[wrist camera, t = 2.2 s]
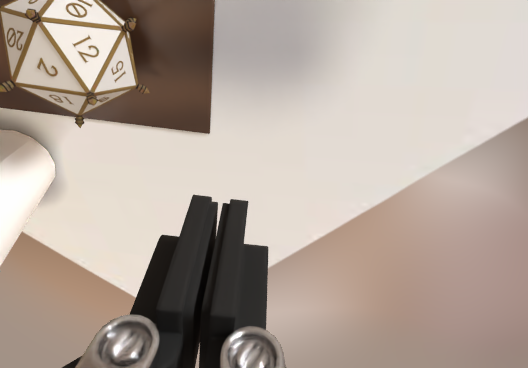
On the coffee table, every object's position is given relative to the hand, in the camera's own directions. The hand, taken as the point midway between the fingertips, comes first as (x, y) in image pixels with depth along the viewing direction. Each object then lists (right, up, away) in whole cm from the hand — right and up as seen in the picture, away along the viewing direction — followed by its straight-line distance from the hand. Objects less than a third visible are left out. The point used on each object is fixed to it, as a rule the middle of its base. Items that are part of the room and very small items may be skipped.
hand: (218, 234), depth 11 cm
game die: (-10, +12, +14) cm, 22 cm away
